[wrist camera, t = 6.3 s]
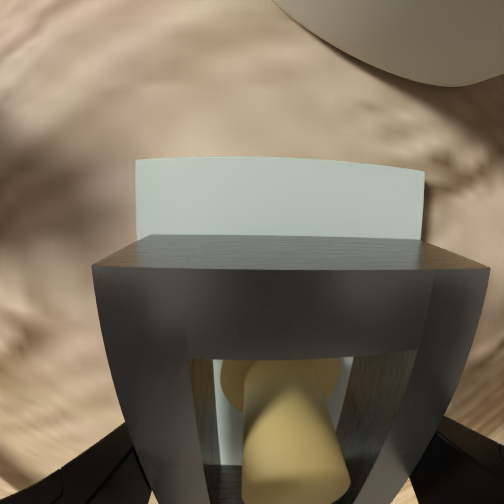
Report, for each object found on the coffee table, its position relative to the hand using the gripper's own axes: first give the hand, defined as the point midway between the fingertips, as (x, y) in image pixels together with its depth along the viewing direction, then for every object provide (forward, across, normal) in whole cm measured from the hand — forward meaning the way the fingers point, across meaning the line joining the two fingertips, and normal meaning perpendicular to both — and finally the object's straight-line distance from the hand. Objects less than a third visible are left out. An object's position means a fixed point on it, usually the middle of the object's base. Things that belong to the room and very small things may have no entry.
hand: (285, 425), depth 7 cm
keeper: (+4, 0, 0) cm, 4 cm away
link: (+1, 0, 0) cm, 1 cm away
